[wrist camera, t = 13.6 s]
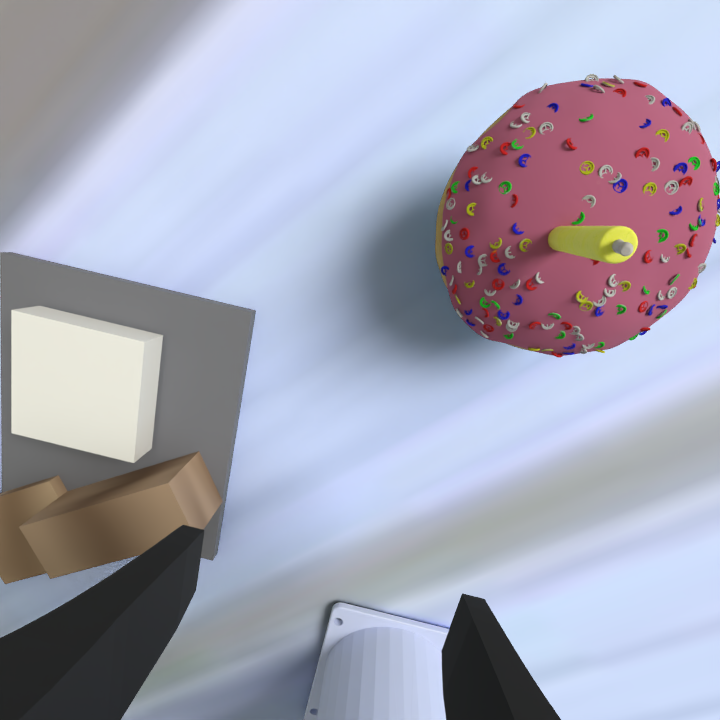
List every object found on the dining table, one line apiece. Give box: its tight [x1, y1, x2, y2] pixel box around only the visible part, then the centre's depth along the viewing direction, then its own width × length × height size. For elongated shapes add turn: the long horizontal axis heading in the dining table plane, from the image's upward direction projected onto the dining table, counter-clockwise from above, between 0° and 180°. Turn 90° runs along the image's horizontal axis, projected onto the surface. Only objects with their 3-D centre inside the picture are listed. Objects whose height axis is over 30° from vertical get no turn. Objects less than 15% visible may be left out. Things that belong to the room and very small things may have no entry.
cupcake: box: [435, 74, 720, 357], centre depth 12 cm, size 9×8×12 cm
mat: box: [0, 252, 256, 560], centre depth 21 cm, size 14×12×1 cm
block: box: [11, 306, 163, 463], centre depth 20 cm, size 6×2×6 cm
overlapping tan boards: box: [0, 451, 223, 584], centre depth 21 cm, size 14×5×3 cm, turn 109°
